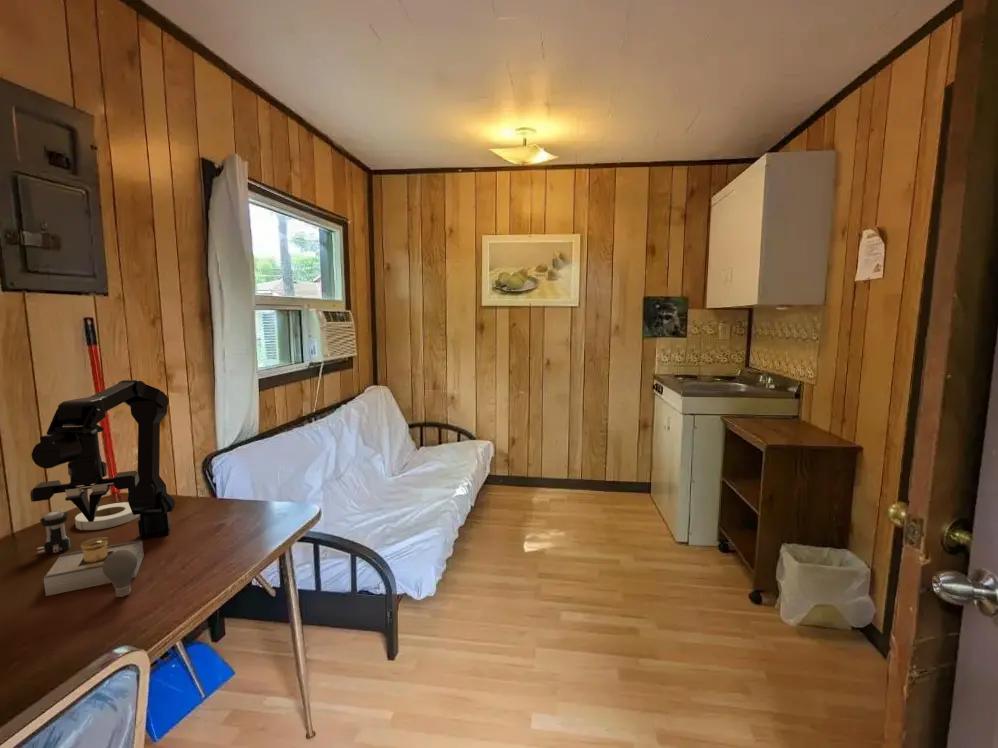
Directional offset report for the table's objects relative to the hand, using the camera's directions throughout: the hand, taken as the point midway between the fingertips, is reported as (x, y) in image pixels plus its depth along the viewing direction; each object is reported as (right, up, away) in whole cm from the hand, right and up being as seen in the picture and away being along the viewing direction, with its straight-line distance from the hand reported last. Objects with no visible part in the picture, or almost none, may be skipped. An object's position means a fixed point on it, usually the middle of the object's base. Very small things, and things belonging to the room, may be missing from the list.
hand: (91, 521), depth 118 cm
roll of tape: (-22, -10, +34) cm, 42 cm away
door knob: (0, -13, +1) cm, 13 cm away
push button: (-21, -12, +14) cm, 28 cm away
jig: (+1, -13, +1) cm, 13 cm away
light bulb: (+13, -14, -8) cm, 21 cm away
